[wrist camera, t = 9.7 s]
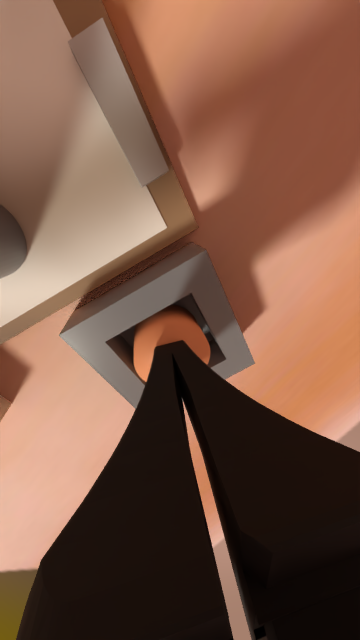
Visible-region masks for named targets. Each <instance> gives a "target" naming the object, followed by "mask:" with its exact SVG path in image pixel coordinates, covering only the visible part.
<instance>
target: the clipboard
mask: <svg viewBox="0 0 360 640" xmlns="http://www.w3.org/2000/svg"><path fill="white" fill-rule="evenodd" d="M0 204H1V205H2V206H3V207H4V208H6V209H7V210H8V211H9V212H10V213H11V214H12V215H13V217H14V218H15V219H16V221H17V222H18V223H19V225H20V227H21V229H22V231H23V233H24V236H25V239H26V245H27V252H26V257H25V260H24V262H23V264H22V265H21V267H20V268H19V269H18V270H17V271H15V272H14V273H12V274H10V275H8V276H5V277H3V278H1V279H0V345H1V344H2V343H4V342H6V341H7V340H9V339H11V338H12V337H14V336H16V335H18V334H19V333H21V332H23V331H24V330H26V329H28V328H29V327H31V326H33V325H34V324H36V323H38V322H40V321H41V320H43V319H45V318H46V317H48V316H50V315H51V314H53V313H55V312H56V311H58V310H60V309H62V308H63V307H65V306H67V305H68V304H70V303H72V302H73V301H75V300H77V299H79V298H80V297H82V296H84V295H85V294H87V293H89V292H90V291H92V290H94V289H95V288H97V287H99V286H101V285H102V284H104V283H106V282H107V281H109V280H111V279H112V278H114V277H116V276H118V275H119V274H121V273H123V272H124V271H126V270H128V269H129V268H131V267H133V266H134V265H136V264H138V263H140V262H141V261H143V260H145V259H146V258H148V257H150V256H151V255H153V254H155V253H156V252H158V251H160V250H162V249H163V248H165V247H167V246H168V245H170V244H172V243H173V242H175V241H177V240H179V239H180V238H182V237H184V236H185V235H187V234H189V233H190V232H192V231H194V230H195V229H197V228H198V225H197V223H196V221H195V218H194V216H193V214H192V211H191V209H190V207H189V204H188V202H187V199H186V197H185V195H184V192H183V190H182V188H181V185H180V183H179V181H178V178H177V176H176V174H175V171H174V169H173V167H172V164H171V162H170V160H169V157H168V155H167V153H166V150H165V148H164V146H163V143H162V141H161V138H160V136H159V134H158V131H157V129H156V127H155V124H154V122H153V120H152V117H151V115H150V113H149V110H148V108H147V106H146V103H145V101H144V99H143V96H142V94H141V92H140V89H139V87H138V85H137V82H136V80H135V77H134V75H133V73H132V70H131V68H130V66H129V63H128V61H127V59H126V56H125V54H124V52H123V49H122V47H121V45H120V42H119V40H118V38H117V35H116V33H115V31H114V28H113V26H112V24H111V21H110V19H109V16H108V14H107V12H106V9H105V7H104V5H103V2H102V0H0Z"/></svg>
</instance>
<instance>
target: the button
mask: <svg viewBox="0 0 360 640" xmlns="http://www.w3.org/2000/svg"><path fill="white" fill-rule="evenodd" d="M180 340H183V341H185V342H186V343H187V345H188V346H189V347H190V348H191V349H192V351H193V352H194V353H195V354H196V355H197V356H198V357H199V358H200V359H201V360H202V361H203V362H204V363H206V364H208V362H209V359H210V346H209V343H208V341H207V339H206V337H205V335H204V333H203V332H202V330H201V328H200V326H199V325H198V323H197V321H196V319H195V318H194V316H193V315H192V314H191V313H190V312H189V311H188V310H186V309H185V308H183V307H180V306H177V305H169V306H167V307H166V308H164V309H162V310H160V311H159V312H157V313H155V314H153V315H152V316H150V317H148V318H146V319H144V320H143V321H141V322H139V323H137V324H136V326H135V329H134V367H135V370H136V372H137V374H138V375H139V376H140V377H141V378H142V379H143V380H144V381H145V382H147V378H148V375H149V372H150V368H151V364H152V360H153V354H154V349H155V347H156V346H160V345H164V344H168V343H172V342H176V341H180Z"/></svg>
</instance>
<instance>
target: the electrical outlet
mask: <svg viewBox="0 0 360 640" xmlns="http://www.w3.org/2000/svg"><path fill="white" fill-rule="evenodd" d="M11 404H12V402H10V401H9V400H7V399H6V398H4V397H3V396H1V395H0V421H1V420H2V418H3V417H4V415H5V413H6V412H7V410H8V409H9V407H10V406H11Z"/></svg>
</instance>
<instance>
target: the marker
mask: <svg viewBox="0 0 360 640" xmlns="http://www.w3.org/2000/svg"><path fill="white" fill-rule="evenodd" d="M26 252H27V245H26V239H25V236H24V233H23V231H22V229H21V227H20V225H19V223H18V222H17V221H16V219H15V218H14V217H13V215H12V214H11V213H10V212H9V211H8V210H7V209H6V208H4V207H3V206H2V205H1V204H0V279H1V278H3V277H5V276H8V275H10V274H12V273H14V272H15V271H17V270H18V269H19V268H20V267H21V265H22V264H23V262H24V260H25V257H26Z"/></svg>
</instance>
